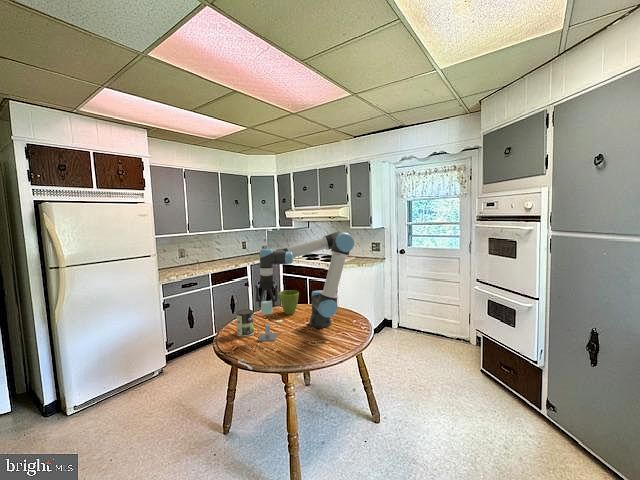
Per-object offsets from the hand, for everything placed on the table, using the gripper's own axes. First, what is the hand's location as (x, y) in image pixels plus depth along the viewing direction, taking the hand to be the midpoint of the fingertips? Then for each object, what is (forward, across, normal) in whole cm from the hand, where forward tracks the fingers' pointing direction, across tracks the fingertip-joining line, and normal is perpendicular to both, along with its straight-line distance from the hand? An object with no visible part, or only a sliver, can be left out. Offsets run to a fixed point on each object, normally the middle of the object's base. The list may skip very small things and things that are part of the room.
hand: (267, 312), depth 181 cm
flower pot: (+16, -11, -46) cm, 50 cm away
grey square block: (+16, 0, 0) cm, 16 cm away
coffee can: (+16, +15, -8) cm, 23 cm away
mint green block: (0, 0, 0) cm, 0 cm away
